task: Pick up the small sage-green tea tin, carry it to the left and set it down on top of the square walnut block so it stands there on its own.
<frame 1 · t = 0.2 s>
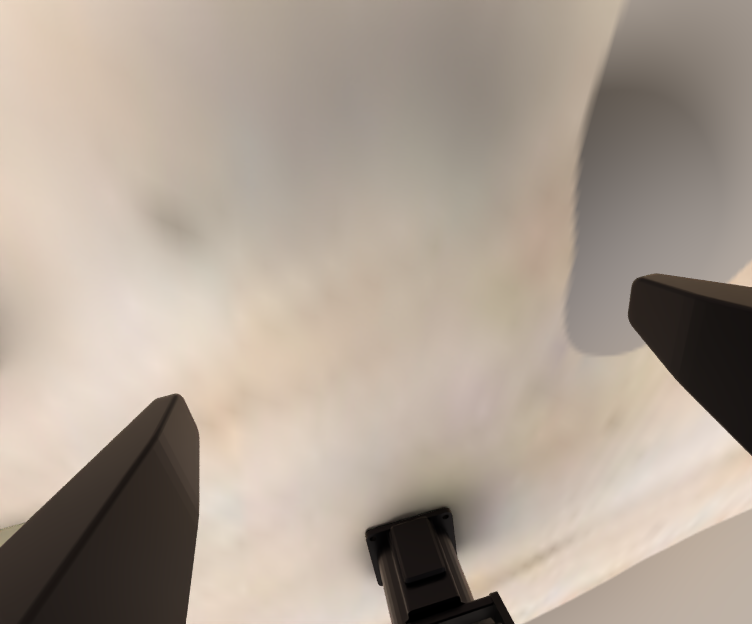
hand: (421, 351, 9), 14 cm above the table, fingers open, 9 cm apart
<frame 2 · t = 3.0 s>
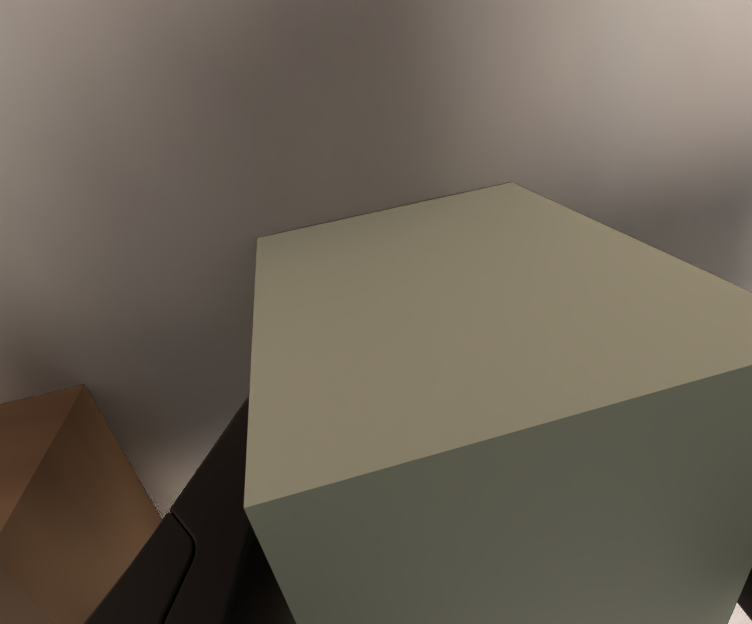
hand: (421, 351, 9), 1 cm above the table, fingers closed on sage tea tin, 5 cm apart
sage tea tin: (404, 321, 10), on the table, touching gripper
when the fingers open (6 cm above the table, at t = 7.0 s): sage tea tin stays where it is, point 4 cm above the table.
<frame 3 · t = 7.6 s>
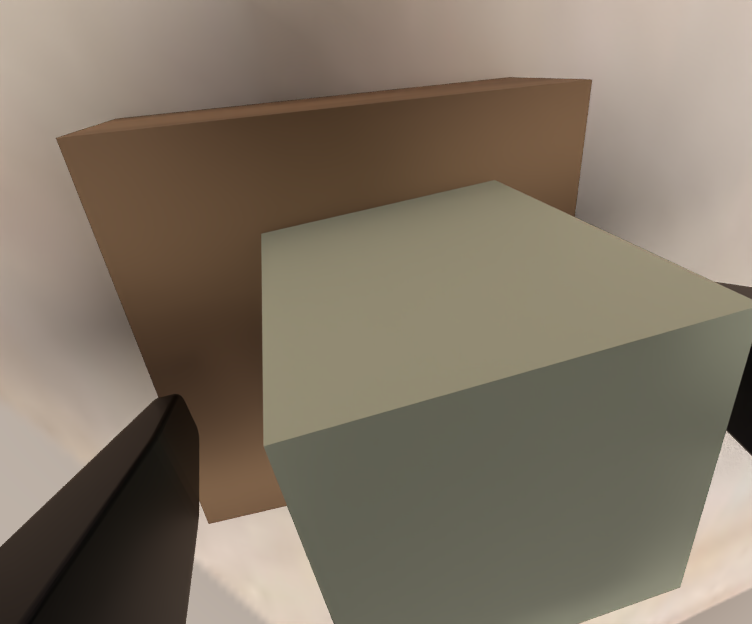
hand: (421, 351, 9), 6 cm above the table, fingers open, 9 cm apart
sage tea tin: (398, 310, 11), point 4 cm above the table
walnut block: (345, 271, 14), on the table
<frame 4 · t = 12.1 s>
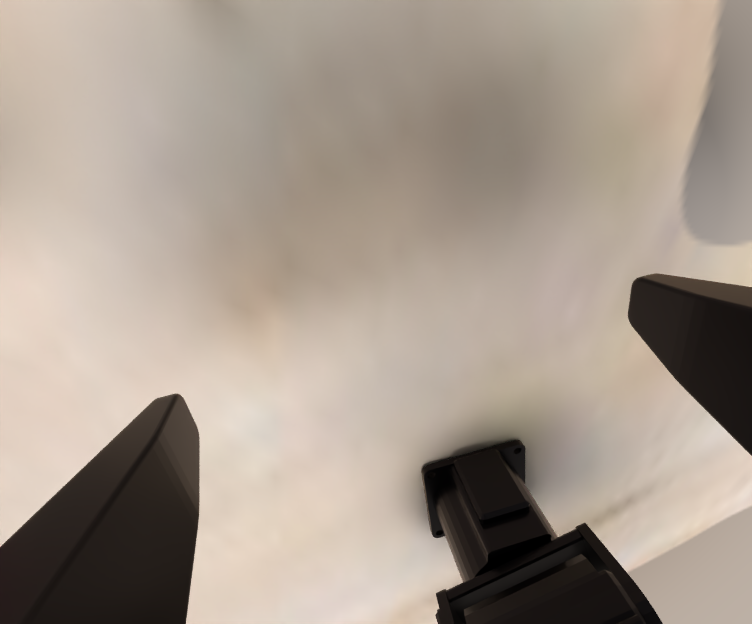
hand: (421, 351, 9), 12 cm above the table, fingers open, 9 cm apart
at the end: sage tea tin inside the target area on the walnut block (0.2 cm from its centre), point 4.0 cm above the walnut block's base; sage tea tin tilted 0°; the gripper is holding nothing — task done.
